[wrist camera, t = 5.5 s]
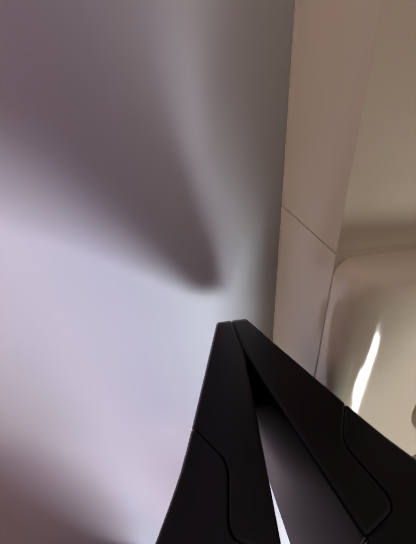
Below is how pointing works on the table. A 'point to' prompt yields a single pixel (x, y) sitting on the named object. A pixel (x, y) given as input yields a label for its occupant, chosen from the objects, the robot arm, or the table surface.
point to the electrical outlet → (352, 208)
